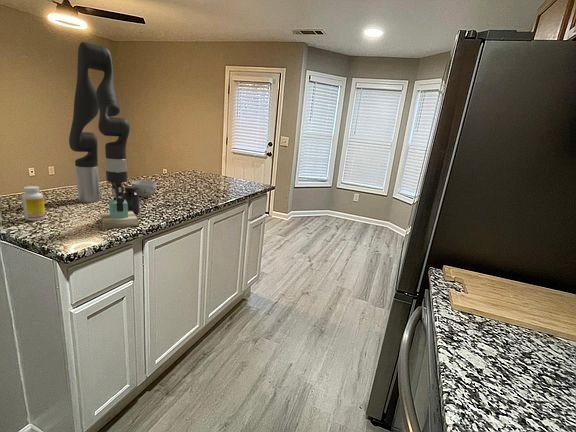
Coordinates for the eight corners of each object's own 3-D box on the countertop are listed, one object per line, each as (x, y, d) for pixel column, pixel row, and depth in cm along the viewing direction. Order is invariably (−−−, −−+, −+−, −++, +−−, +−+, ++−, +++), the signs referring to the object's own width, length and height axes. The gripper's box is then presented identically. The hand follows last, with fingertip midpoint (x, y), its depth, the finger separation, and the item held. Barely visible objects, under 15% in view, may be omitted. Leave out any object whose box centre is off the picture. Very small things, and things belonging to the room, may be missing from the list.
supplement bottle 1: (50, 218, 126) (46, 187, 123) (32, 222, 120) (28, 189, 117) (38, 215, 128) (34, 184, 125) (20, 219, 122) (15, 187, 118)
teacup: (127, 195, 171) (126, 181, 169) (146, 192, 182) (146, 179, 180) (145, 200, 165) (144, 186, 163) (164, 197, 175) (164, 183, 173)
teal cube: (109, 214, 129) (108, 200, 127) (125, 213, 133) (125, 199, 131) (111, 218, 125) (110, 204, 123) (128, 217, 128) (127, 203, 126)
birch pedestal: (101, 219, 131) (100, 212, 130) (132, 217, 137) (132, 210, 137) (104, 228, 121) (103, 221, 121) (137, 225, 128) (137, 218, 127)
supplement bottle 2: (143, 212, 146) (142, 187, 143) (130, 215, 140) (129, 189, 137) (132, 209, 149) (131, 184, 145) (120, 212, 143) (118, 186, 139)
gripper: (103, 166, 127) (106, 204, 131) (108, 172, 116) (110, 214, 120) (124, 166, 131) (125, 203, 135) (130, 172, 120) (131, 212, 124)
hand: (118, 208), depth 128 cm, fingers open, 8 cm apart
